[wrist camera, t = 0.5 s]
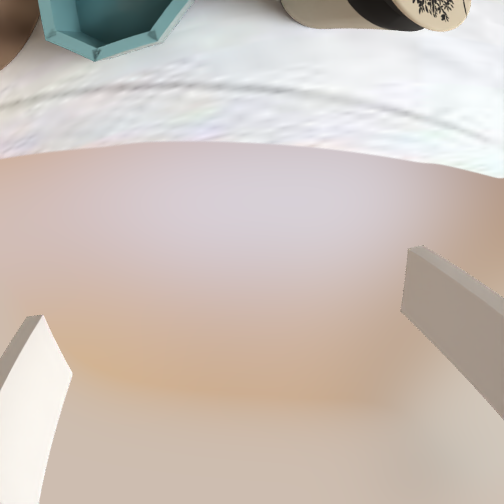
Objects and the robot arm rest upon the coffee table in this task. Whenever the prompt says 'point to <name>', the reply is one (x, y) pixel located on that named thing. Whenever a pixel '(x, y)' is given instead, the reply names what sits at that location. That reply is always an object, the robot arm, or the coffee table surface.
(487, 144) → the coffee table surface
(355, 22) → the travel mug
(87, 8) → the bowl
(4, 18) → the lid
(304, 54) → the coffee table surface
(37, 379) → the robot arm
